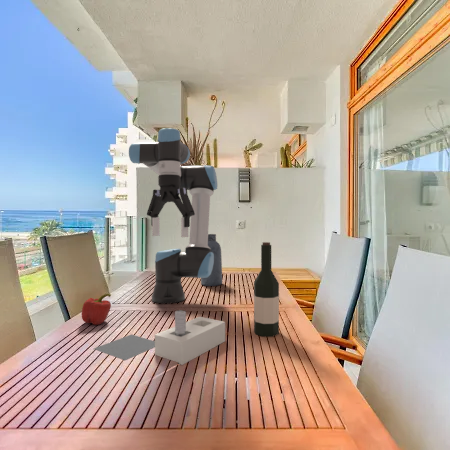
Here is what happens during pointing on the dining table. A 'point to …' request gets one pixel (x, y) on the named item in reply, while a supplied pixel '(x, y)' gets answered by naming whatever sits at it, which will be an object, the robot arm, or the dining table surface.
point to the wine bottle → (266, 297)
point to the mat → (127, 347)
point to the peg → (180, 323)
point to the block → (190, 340)
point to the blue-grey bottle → (216, 272)
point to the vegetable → (96, 310)
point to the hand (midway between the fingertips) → (169, 236)
